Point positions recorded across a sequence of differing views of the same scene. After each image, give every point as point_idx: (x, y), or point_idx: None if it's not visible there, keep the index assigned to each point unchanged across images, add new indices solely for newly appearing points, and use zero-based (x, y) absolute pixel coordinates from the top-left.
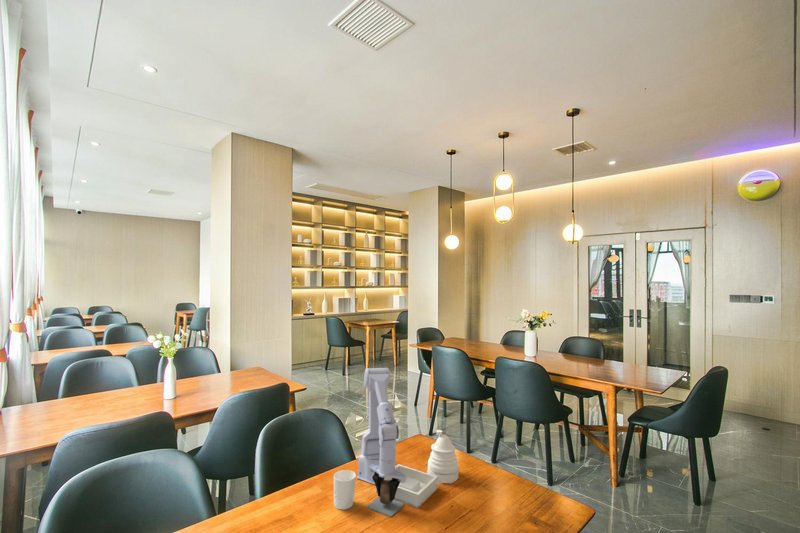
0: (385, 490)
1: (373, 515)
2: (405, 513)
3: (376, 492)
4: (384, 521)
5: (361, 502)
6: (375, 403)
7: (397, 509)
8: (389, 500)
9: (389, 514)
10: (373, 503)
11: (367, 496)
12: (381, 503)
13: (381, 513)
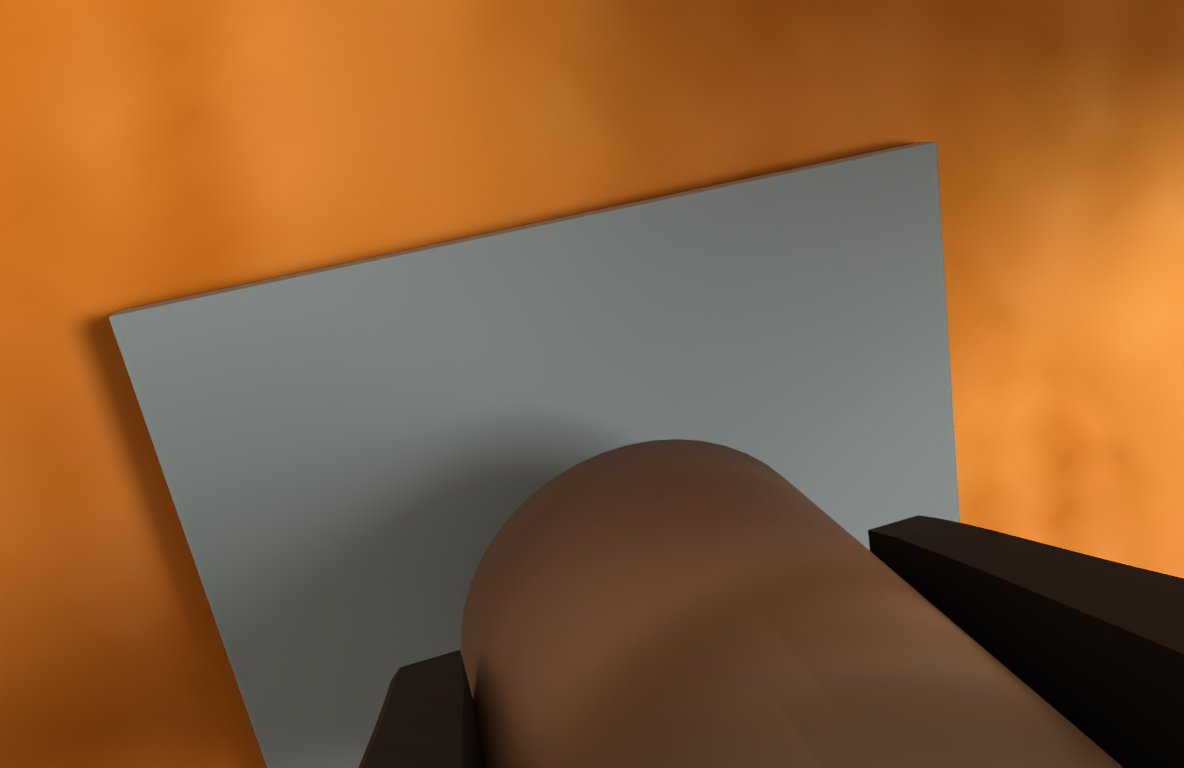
0: (709, 754)
1: (555, 5)
2: (3, 738)
3: None
4: (86, 13)
5: (1141, 208)
6: None
7: (251, 667)
8: (483, 647)
9: (210, 339)
10: (895, 368)
11: (1168, 476)
12: None
13: (459, 240)
